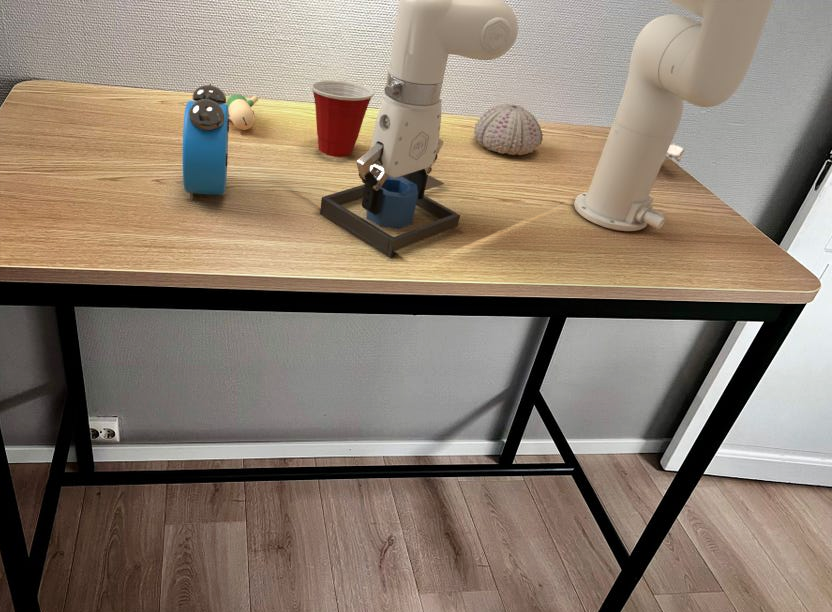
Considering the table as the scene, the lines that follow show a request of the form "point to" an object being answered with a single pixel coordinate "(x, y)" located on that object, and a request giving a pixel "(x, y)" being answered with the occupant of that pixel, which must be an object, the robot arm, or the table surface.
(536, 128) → the sea urchin shell
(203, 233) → the table surface
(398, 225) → the ring
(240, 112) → the toy figurine
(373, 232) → the tray
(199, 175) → the alarm clock
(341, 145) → the plastic cup
